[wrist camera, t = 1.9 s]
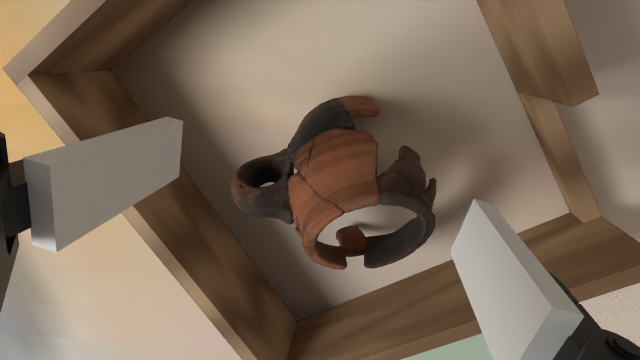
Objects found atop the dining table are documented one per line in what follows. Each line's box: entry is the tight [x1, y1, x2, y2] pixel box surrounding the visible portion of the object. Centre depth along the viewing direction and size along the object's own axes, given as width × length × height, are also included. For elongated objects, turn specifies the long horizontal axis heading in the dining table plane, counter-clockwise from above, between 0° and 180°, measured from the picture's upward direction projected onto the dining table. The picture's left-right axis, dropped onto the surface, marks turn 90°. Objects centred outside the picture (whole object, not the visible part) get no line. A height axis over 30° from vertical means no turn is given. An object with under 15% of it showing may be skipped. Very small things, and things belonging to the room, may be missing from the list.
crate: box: [2, 0, 640, 360], centre depth 20 cm, size 26×24×6 cm
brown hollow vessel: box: [230, 96, 436, 270], centre depth 21 cm, size 12×9×8 cm
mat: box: [401, 333, 493, 360], centre depth 27 cm, size 11×12×1 cm
